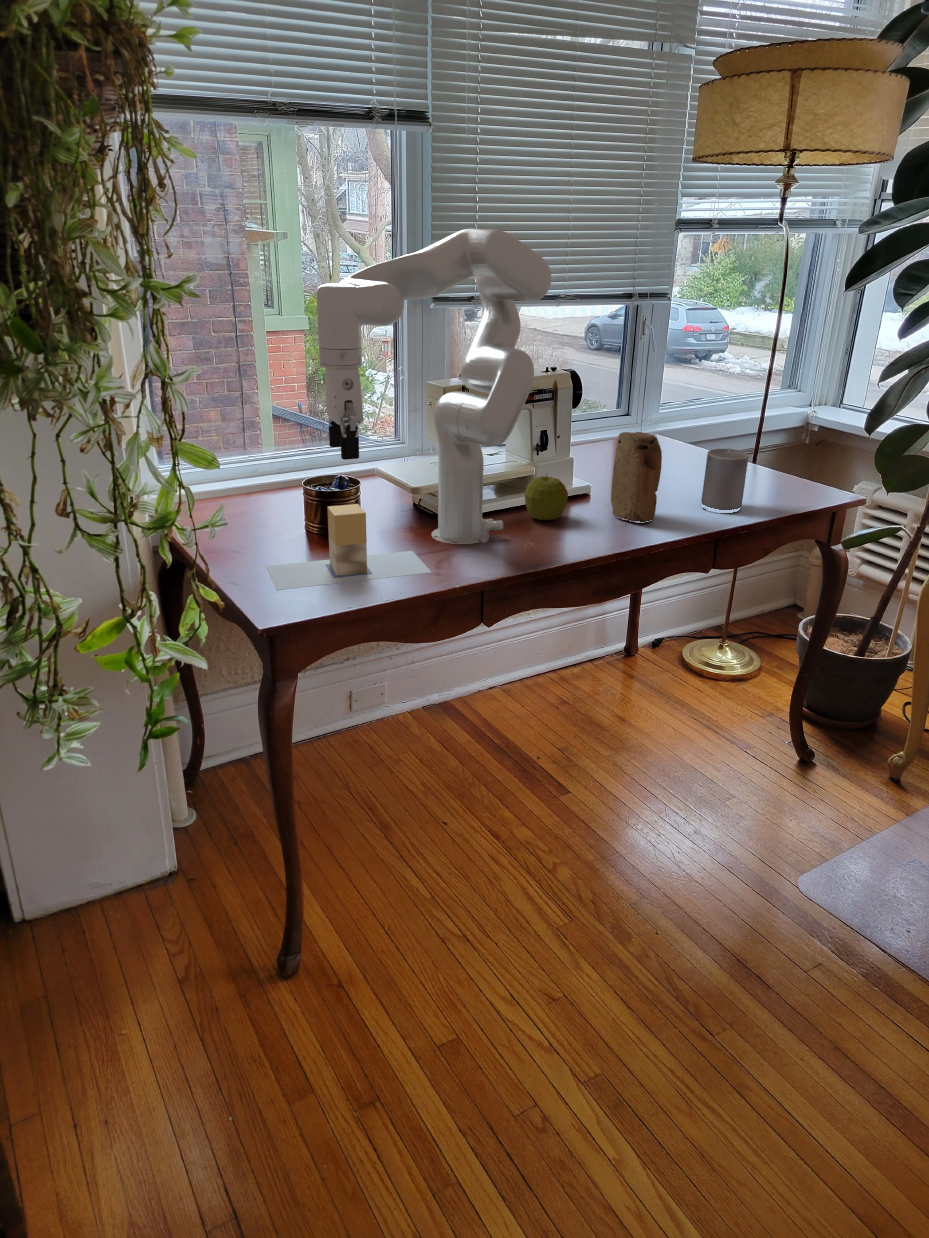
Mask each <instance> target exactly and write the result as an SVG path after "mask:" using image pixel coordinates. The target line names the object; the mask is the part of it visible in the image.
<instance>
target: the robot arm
mask: <svg viewBox="0 0 929 1238" xmlns="http://www.w3.org/2000/svg"><path fill="white" fill-rule="evenodd" d="M550 268H551V267H550V266H549V264H548V262H547V260H546V259H544V257H542V256H541V255H540V254H539V253H537V252H536V251H535V250H533V249H532V248H531V247H529V246H528V245H526V244H525V243H523V242H522V241H521V240H519V239H517V238H516V237H515V236H513V235H511V234H510V233H508V232H506V231H504V230H501V229H493V228H492V229H488V228H465V229H462V230H459V231H456V232H454V233H452V234H451V235H448V236H446V237H444V238H442V239H441V240H438V241H437V242H434V243H432V244H430V245H429V246H426V247H424V248H422V249H420V250H418V251H415V252H413V253H409V254H405V255H402V256H399V257H395V258H392V259H390V260H389V259H388V260H386V261H385V260H384V261H382V262H379V263H376V264H373V265H370V266H367V267H365V268H363V269H361V270H358V271H356V272H354V273H353V274H350V275H348V276H347V277H345V278H343V279H342V280H340V282H339V283H338V282H337V283H333V282H332V283H324V284H321V285H320V286H318V288H317V289H316V314H317V315H316V317H317V331H318V332H317V334H318V358H319V360H318V361H319V367H320V368H324V369H325V370H324V371H325V372H324V376H325V377H324V387H325V388H324V389H325V390H324V391H325V408H326V413H327V416H328V438H329V439H328V440H329V442H328V443H329V444H328V445H329V447H330V448H340V457H341V460H345V461H347V460H358V459H359V458H360V439H359V437H360V436H359V425H362V423H363V422H364V408H363V398H362V395H363V394H362V383H361V377H360V370H359V368H361V367H362V366H363V352H362V350H363V349H362V326H375V327H388V326H390V325H392V324H394V323H396V322H397V321H398V320H399V319H400V318H401V317H402V316H403V313H404V308H405V301H412V300H413V301H414V300H422V299H423V300H424V299H429V298H432V297H433V298H435V297H437V296H439V295H441V294H443V293H445V292H446V291H448V290H450V289H451V288H454V287H455V286H457V285H459V284H461V283H463V282H465V281H466V280H468V279H471V278H474V277H475V284H476V287H477V290H478V294H479V297H480V302H481V303H480V304H481V309H482V311H481V312H482V313H481V320H480V321H479V326H478V328H477V330H476V332H475V334H474V337H473V339H472V341H471V344H470V345H469V348H468V349H467V352H466V355H465V357H464V359H463V362H462V364H461V369H460V378H461V381H462V383H463V384H464V385H465V386H466V387H467V388H469V389H471V390H474V391H477V392H481V393H486V394H488V396H484V395H480V394H476V393H471V392H468V391H467V392H466V391H450V392H447V393H445V394H443V395H441V397H440V398H439V399H438V400H437V402H436V403H435V407H434V410H433V423H434V428H435V430H434V431H435V434H436V440H437V451H438V487H437V488H438V494H437V495H438V498H437V499H438V501H437V502H438V503H437V504H438V506H437V507H438V509H437V513H438V514H437V515H438V516H437V521H438V523H437V526H438V527H437V528H435V529H434V530H433V531H432V532H431V537H432V539H434V540H436V541H438V542H441V543H447V544H451V545H470V544H476V543H481V542H482V543H483V544H487V542H488V543H489V540H490V539H489V538H490V535H489V532H490V531H491V530H493V531H494V530H495V531H497V530H498V531H499V530H503V529H504V522H503V520H494V519H493V518H487V519H485V518H484V517H483V501H484V500H483V498H484V496H483V495H484V471H485V470H484V468H485V465H484V462H485V461H484V460H485V459H484V456H483V450H482V447H481V446H485V447H497V446H498V447H499V446H500V445H502V444H504V443H505V442H506V441H507V440H508V439H509V437H510V436H511V434H512V432H513V430H514V429H515V425H516V424H517V422H518V419H519V417H520V415H521V412H522V411H523V408H524V406H525V404H526V401H527V399H528V397H529V396H530V392H531V390H532V387H533V384H534V379H535V367H534V363H533V360H532V358H531V356H530V355H529V354H528V353H527V352H526V351H524V350H521V349H518V348H516V345H517V342H518V340H519V338H520V334H521V329H522V327H521V318H520V315H519V312H518V311H519V310H518V308H517V305H516V302H515V301H521V302H536V301H539V300H541V299H543V298H544V297H545V296H546V295H547V294H548V292H549V290H550V288H551V284H552V271H551V269H550ZM357 424H359V425H357Z"/></svg>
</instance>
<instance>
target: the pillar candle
mask: <svg viewBox="0 0 929 1238" xmlns="http://www.w3.org/2000/svg"><path fill="white" fill-rule="evenodd" d="M749 457H750V454H748V453H747V452H746V451H743V450H739V449H738V450H737V449H733V448H729V447H728V448H715V449H711V450H708V451H707V455H706V464H705V470H704V478H703V484H702V485H703V486H702V494H701V501H700V502H702V504H703V505H705V506H707V507H710V508H714V509H719V510H732V509H733V510H734V509H738V508H740V507H741V508H742V506H743V499H744V491H745V485H746V479H747V471H748V464H749Z"/></svg>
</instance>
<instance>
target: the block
mask: <svg viewBox="0 0 929 1238" xmlns="http://www.w3.org/2000/svg"><path fill="white" fill-rule="evenodd" d="M614 451H615V453H614V458H613V459H614V461H613V468H612V469H613V470H612V477H611V479H612V480H611V491H610V495H611V496H610V502H611V503H610V504H611V506H612V507H611V508H612V515H613V516H614V515H615V516H617V517H620V518H624V519H628V520H631V521H640V522H646V521H650V520H652V521H653V520H654V518H655V515H656V509H657V499H658V498H657V497H658V496H657V494H656V492H658V490H659V489H658V488H659V484H660V480H661V474H662V473H661V472H662V461H663V460H662V459H663V457H662V456H663V455H662V453H663V451H662V448H661V444H660V443H659V440H658V437H657V436H656V435H653V434H650V433H648V432H643V431H636V432H631V431H630V432H629V431H623V432H620V433H619V434H618V436H617V440H616V446H615V450H614ZM615 516H614V517H615Z"/></svg>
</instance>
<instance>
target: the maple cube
mask: <svg viewBox="0 0 929 1238" xmlns="http://www.w3.org/2000/svg"><path fill="white" fill-rule="evenodd" d="M328 547H329V549H328V551H329V553H328V554H329V560H330V566H331V568H332V569H333V571H334V572H335V574H336V575H337V576H339V575H348V574H357V573H366V572H367V556H368V554H367V543H361V544H351V545H342V546H335V544H334V543H333V542H332V540H331V539H330V537H329V536H328Z"/></svg>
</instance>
